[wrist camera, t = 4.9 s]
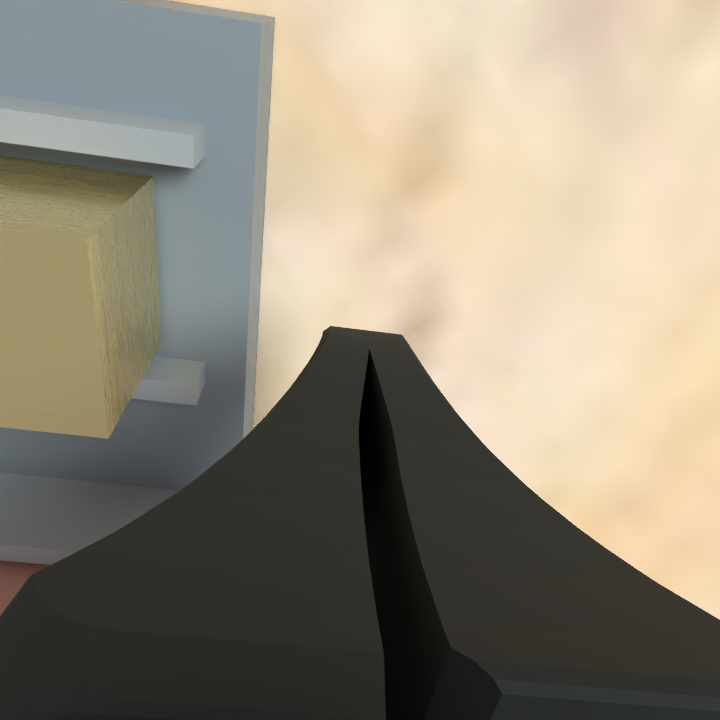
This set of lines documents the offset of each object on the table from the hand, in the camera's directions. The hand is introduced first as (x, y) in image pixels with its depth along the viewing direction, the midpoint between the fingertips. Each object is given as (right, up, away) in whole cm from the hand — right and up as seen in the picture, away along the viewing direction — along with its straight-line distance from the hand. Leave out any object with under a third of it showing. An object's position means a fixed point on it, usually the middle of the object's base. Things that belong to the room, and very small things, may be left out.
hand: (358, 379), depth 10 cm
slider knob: (-6, +3, +3) cm, 7 cm away
